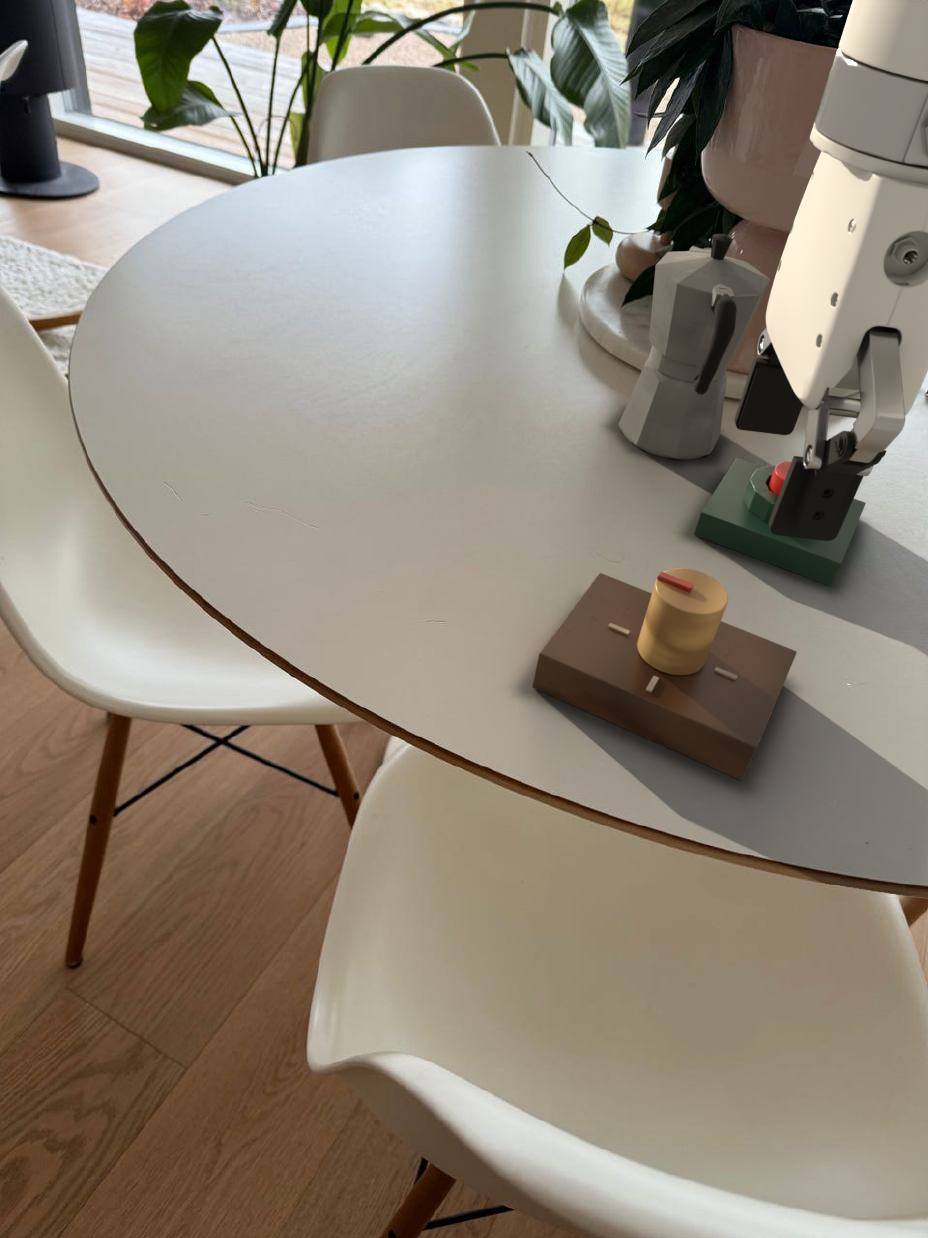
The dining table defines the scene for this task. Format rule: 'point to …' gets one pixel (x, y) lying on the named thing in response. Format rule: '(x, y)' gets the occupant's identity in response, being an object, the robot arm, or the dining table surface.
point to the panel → (664, 679)
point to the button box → (744, 525)
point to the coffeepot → (691, 349)
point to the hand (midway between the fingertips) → (779, 478)
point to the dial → (681, 621)
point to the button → (778, 477)
